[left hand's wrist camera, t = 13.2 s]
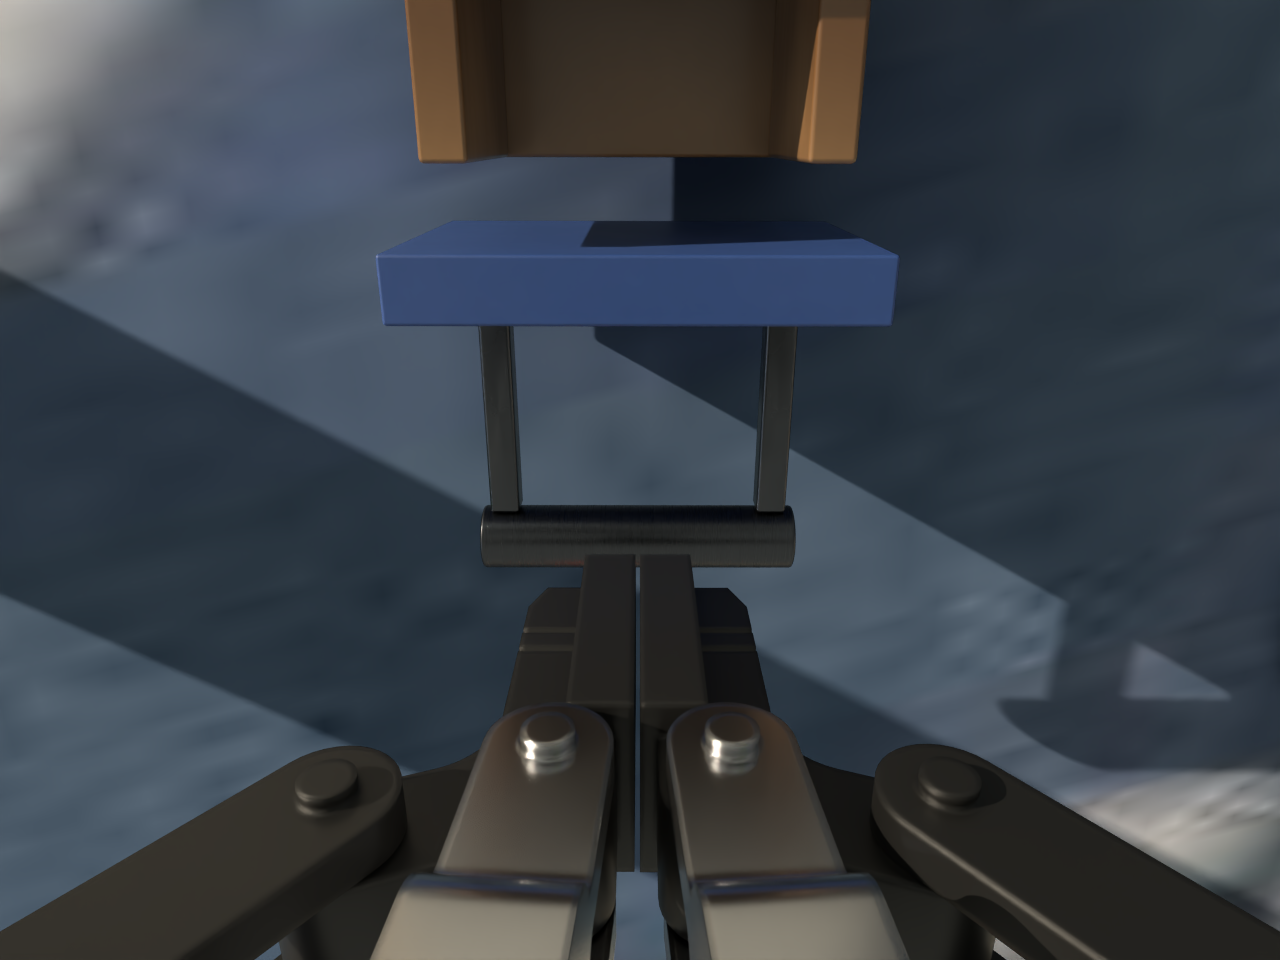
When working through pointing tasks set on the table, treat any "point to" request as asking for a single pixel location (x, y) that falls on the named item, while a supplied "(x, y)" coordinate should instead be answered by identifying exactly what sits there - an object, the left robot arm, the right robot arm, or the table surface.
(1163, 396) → the table surface
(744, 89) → the drawer
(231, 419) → the table surface
